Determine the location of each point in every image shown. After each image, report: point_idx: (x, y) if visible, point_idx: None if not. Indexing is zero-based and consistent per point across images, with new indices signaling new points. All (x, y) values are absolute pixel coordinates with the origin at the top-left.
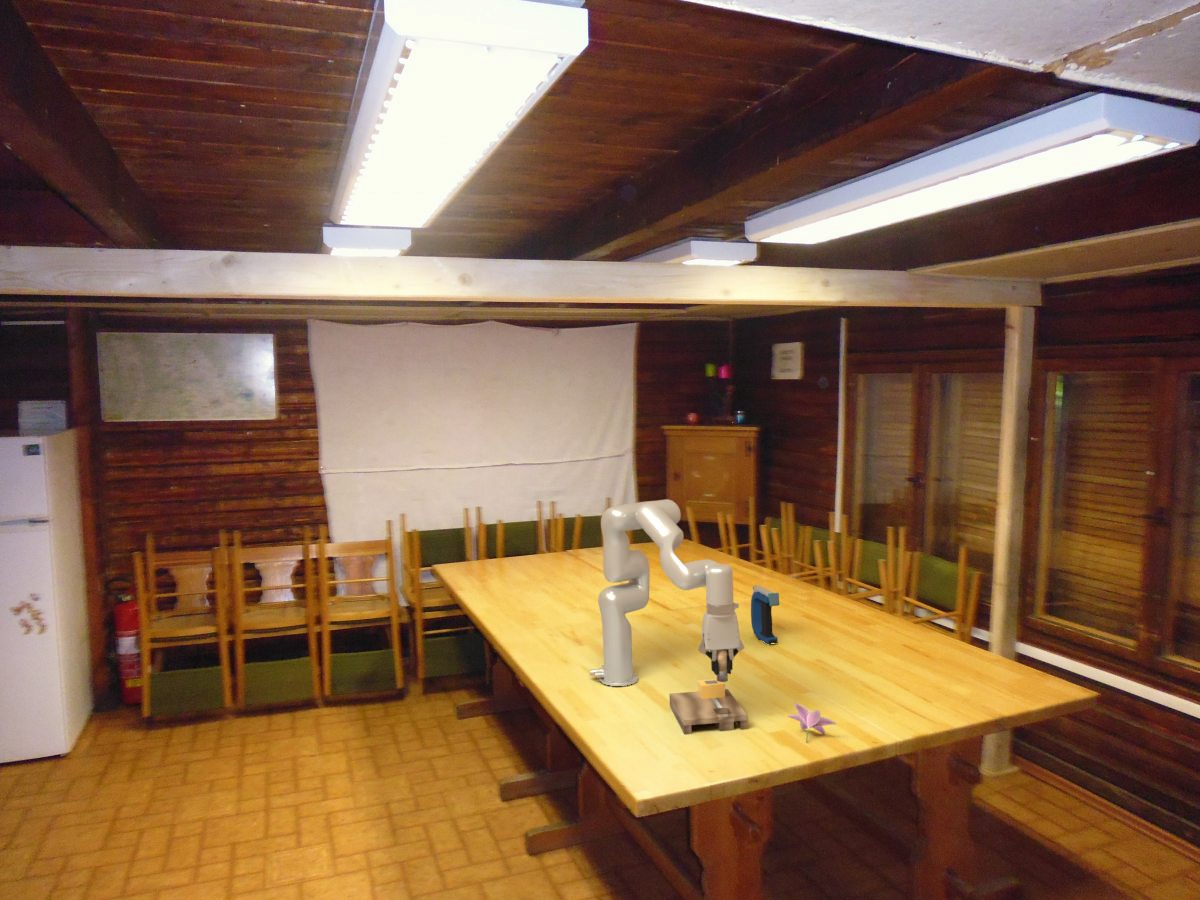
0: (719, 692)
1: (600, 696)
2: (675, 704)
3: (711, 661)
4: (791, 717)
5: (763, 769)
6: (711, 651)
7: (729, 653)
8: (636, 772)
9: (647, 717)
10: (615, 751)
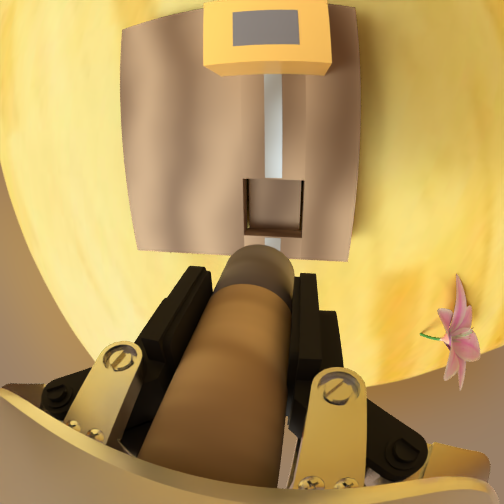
0: (300, 69)
1: (35, 16)
2: (121, 121)
3: (139, 347)
4: (442, 313)
5: None
6: (95, 414)
7: (293, 477)
8: (95, 341)
9: (83, 115)
10: (53, 272)
